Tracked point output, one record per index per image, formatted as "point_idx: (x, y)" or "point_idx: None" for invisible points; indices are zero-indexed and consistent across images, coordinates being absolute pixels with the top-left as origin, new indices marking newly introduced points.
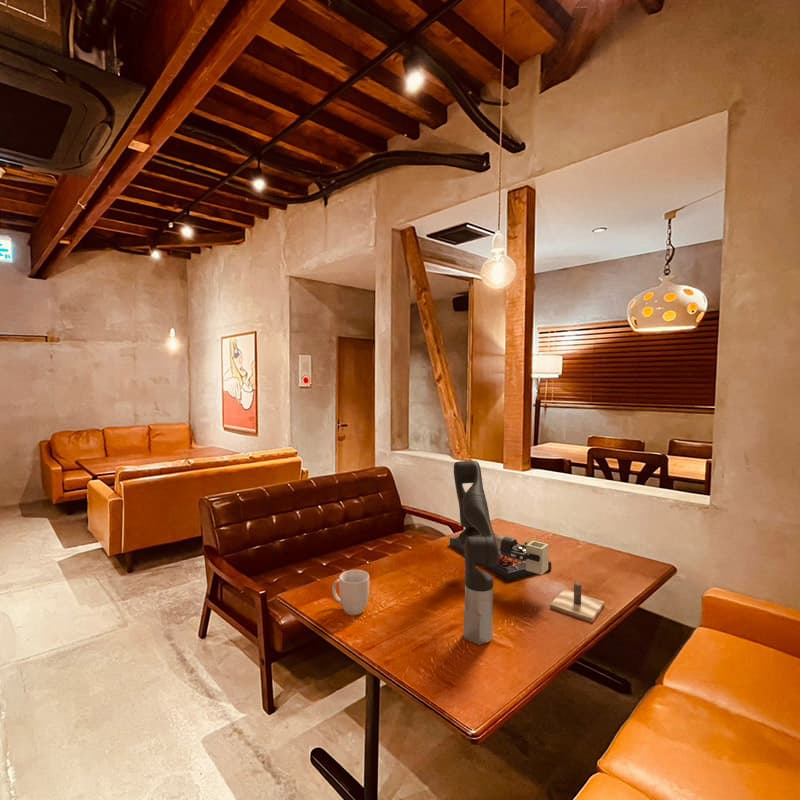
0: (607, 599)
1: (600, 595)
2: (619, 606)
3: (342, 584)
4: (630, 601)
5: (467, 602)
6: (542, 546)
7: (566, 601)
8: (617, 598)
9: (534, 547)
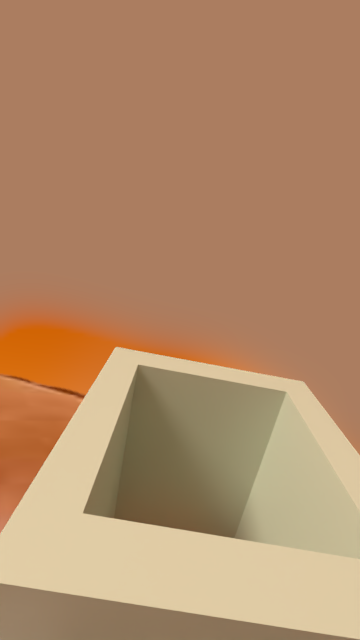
0: (32, 421)
1: (3, 436)
2: (71, 401)
3: None
4: (31, 383)
5: None
6: (124, 420)
7: None
8: (18, 402)
9: (351, 454)
